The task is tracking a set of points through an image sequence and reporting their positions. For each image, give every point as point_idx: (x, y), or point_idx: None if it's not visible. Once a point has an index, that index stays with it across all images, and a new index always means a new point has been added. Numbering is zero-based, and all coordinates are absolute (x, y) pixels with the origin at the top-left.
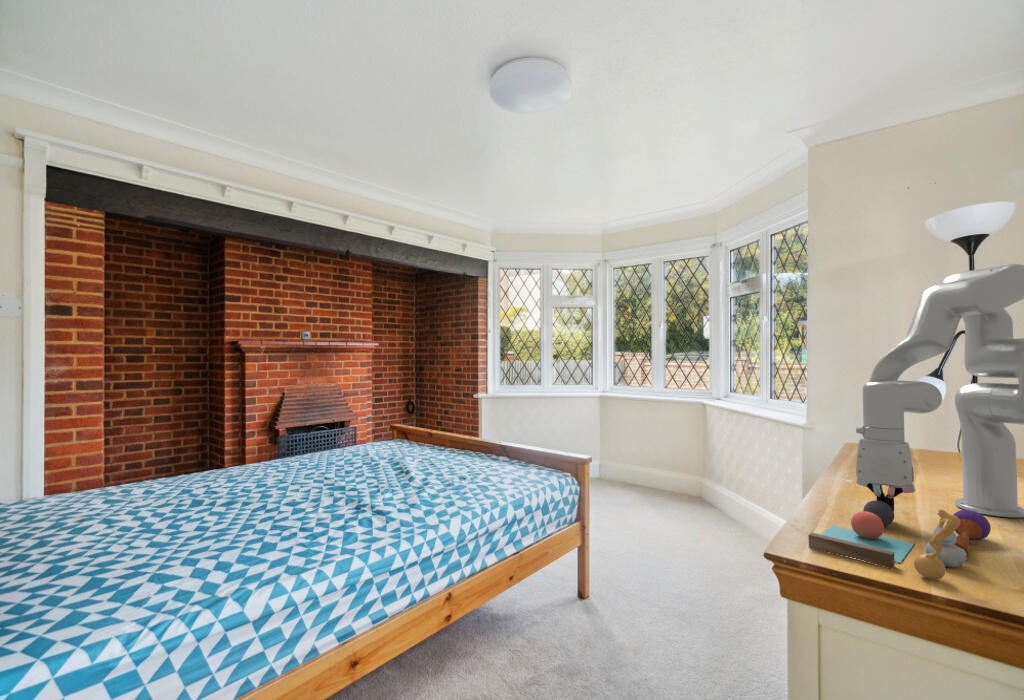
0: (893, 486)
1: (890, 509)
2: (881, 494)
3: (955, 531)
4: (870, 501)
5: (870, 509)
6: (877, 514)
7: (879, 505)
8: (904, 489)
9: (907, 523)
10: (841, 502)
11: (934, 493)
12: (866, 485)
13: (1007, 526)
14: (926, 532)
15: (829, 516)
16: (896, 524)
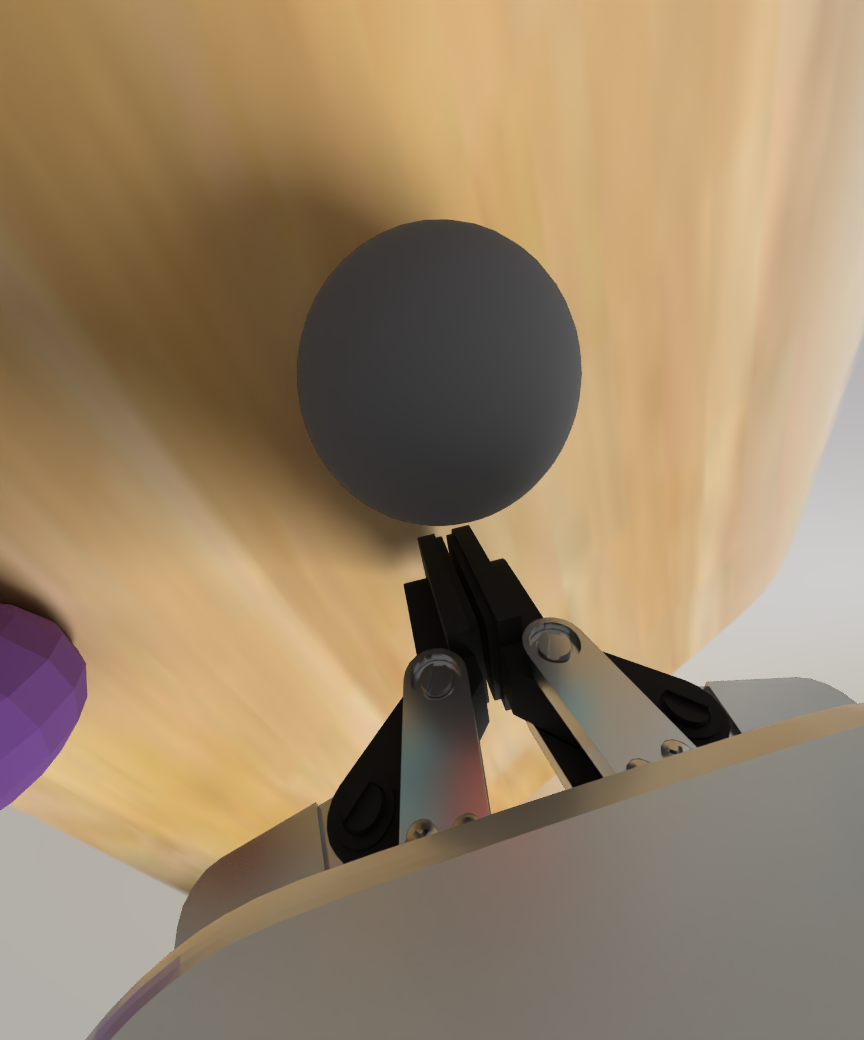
0: (393, 849)
1: (315, 401)
2: (522, 666)
3: (43, 625)
4: (559, 395)
5: (495, 237)
6: (398, 226)
7: (415, 296)
8: (306, 870)
9: (348, 594)
10: (663, 637)
11: None
12: (715, 704)
13: (148, 856)
14: (178, 518)
15: (722, 288)
16: (369, 522)
